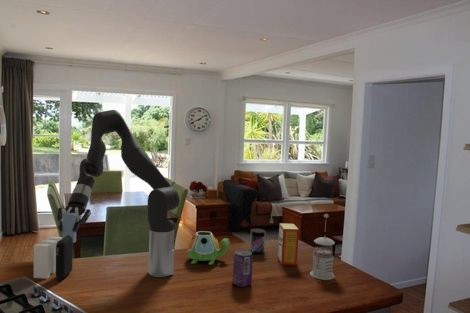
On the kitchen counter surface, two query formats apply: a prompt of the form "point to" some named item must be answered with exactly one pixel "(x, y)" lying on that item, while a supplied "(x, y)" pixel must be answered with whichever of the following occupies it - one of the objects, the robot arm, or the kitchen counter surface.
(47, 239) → the ivory domino
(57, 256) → the carrying case or bag
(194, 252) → the turtle holder
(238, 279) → the beverage can
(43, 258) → the ivory domino
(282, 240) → the baking soda box
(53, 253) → the ivory domino
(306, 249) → the kitchen counter surface
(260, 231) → the supplement container
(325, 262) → the french press
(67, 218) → the blue-grey rectangular block
